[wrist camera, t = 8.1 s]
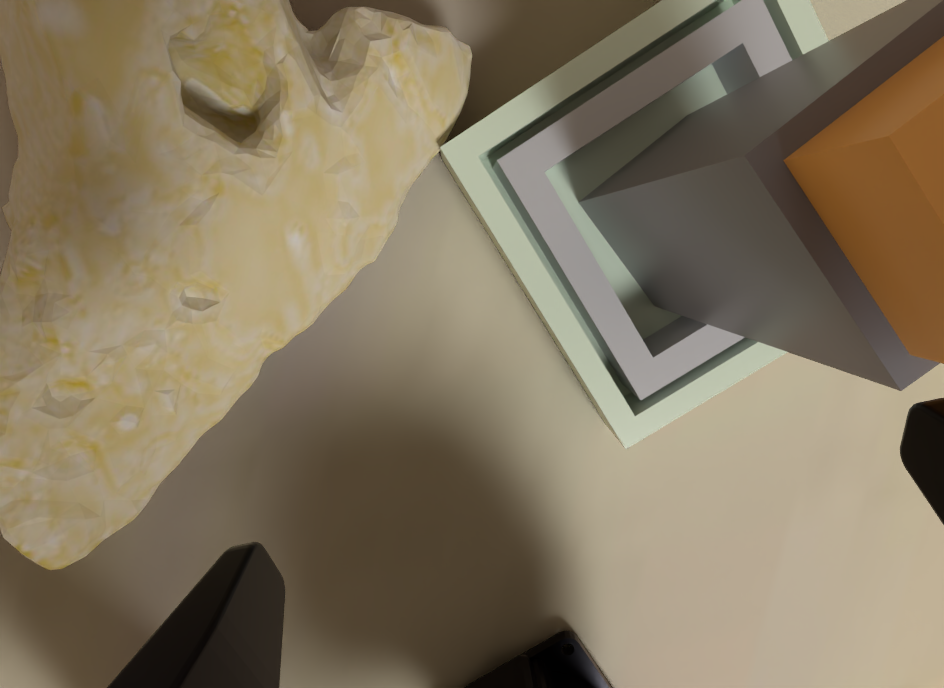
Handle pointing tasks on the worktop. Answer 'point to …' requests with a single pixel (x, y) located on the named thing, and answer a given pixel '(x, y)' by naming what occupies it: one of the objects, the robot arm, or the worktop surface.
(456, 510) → the worktop surface
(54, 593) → the worktop surface
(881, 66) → the plug
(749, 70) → the box
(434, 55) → the cheese
